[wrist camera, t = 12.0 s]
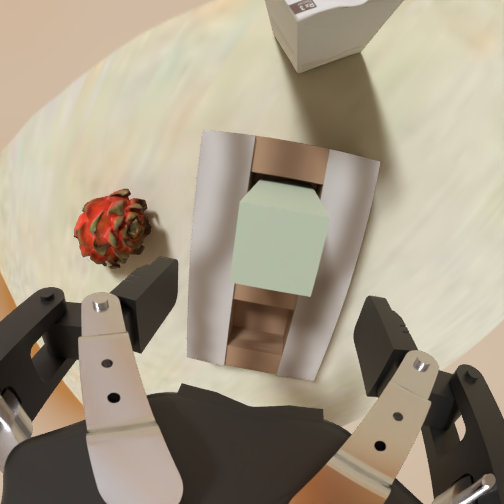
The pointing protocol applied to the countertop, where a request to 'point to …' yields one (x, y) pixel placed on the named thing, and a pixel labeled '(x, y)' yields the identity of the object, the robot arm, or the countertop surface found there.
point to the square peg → (279, 237)
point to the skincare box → (326, 28)
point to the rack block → (258, 299)
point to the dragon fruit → (112, 228)
